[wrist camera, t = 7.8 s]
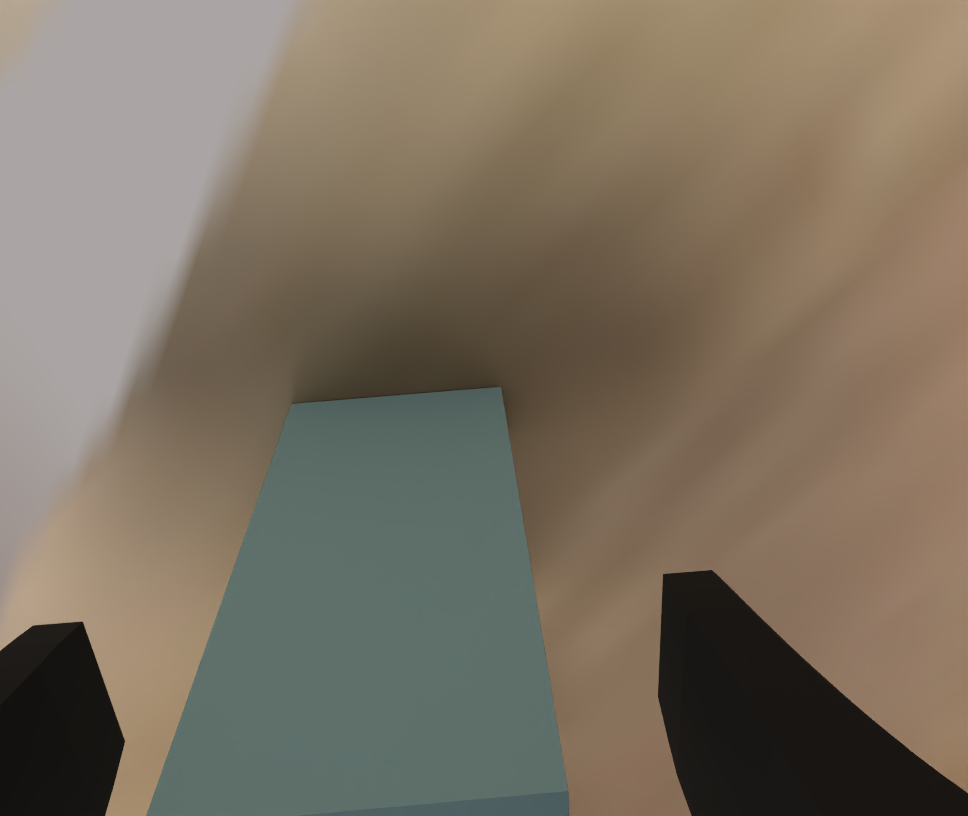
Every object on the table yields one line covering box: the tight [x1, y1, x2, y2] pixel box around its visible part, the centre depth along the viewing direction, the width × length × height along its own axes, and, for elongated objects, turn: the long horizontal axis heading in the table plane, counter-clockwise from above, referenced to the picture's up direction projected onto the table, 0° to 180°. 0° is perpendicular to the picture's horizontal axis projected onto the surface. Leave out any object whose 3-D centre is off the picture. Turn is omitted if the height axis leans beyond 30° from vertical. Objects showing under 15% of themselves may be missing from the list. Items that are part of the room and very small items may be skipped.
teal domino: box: [146, 387, 569, 816], centre depth 12 cm, size 1×4×9 cm, turn 94°
